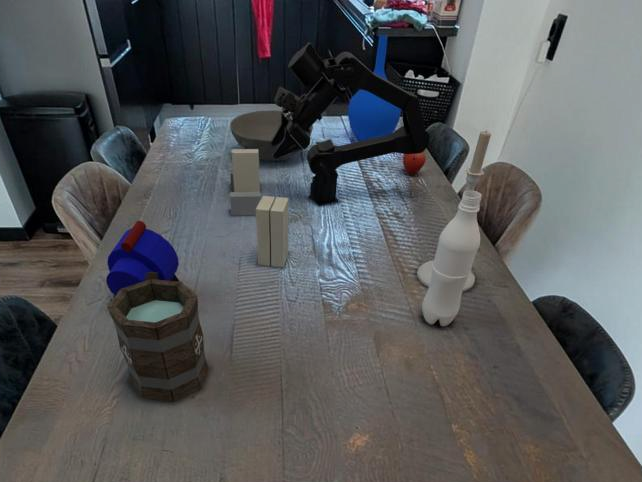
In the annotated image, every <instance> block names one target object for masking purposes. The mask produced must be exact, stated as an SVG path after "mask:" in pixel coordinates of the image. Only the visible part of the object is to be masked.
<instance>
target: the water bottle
mask: <svg viewBox="0 0 642 482" xmlns="http://www.w3.org/2000/svg"><path fill="white" fill-rule="evenodd" d="M482 195H483V194H482V193H480V192H479V191H475V190H474V191H465V192H464V191H463V193H462V197H461V200H462V201H461V200H460V202H459V204H458V206H457V208H458V209H459V210H458V209H457V212H456V214H455V215H454V216H453V218H452V219H451V220H450V221H449V222H448V224H447V225H445V227H444V228H443V229H442V231H441V232H440V235H439V237H438V241H437V242H438V243H437V247H436V251H435V255H434V259H433V260H434V263H433V265H432V276H431V281H430V285H429V287H427V291H426V293H425V296H424V298H423V299H422V304H421V313H422V316H423V318H424V320H425V322H426V323H428V324H429V325H434V324H435V323H436V322H437V321H439V326H441V327H446V326H449V325H450V324H451V323H452V322H453V320H454V319H455V318H456V316H457V315H458V313H459V311H460V307H461V299H462V294H463V292H464V291H463V288H464V285H465V282H466V280H467V278H468V276H469V274H470V273H471V272H472V269H473V265H474V262H475V259H476V256H477V253H478V250H479V248H480V244H481V233H480V228H479V223H478V212H480V209H481V208H480V206H481V201H482V197H483V196H482ZM462 291H463V292H462Z"/></svg>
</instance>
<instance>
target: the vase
mask: <svg viewBox="0 0 642 482" xmlns="http://www.w3.org/2000/svg"><path fill="white" fill-rule="evenodd" d="M388 37H389V36H388V35H386V34H380V35H379V37H378V44H377V50H376V57H375V66H374V70H373V71H372V72H373V73H375V74H376V75H378V76H380V77H382V78H384V79H385V80H387V81H389V80H388V78H387V76H386V73H385V63H386V55H387V45H388ZM347 108H348V109H347V118H348V122H349V128H350V130H351V132H352V134H353V136H354V137H355V139H356V140H357V142H358V141H363V140H367V139H371V138H376V137H380V136H384V135H388V134H391V133H393V132H395V131H396V128H397V126H398V124H399V122H400V119H401V115H402V109H400V108H398V107H396V106H394V105H392V104H390V103H389V102H387V101H385V100H383V99H381V98H379V97H377V96H376V95H374V94H372V93H370V92H368V91H365V90H360V89H358V91H357V92H356V93H355V94H354V95H353V96H352V97H351V98H350V101H349V103H348V107H347Z"/></svg>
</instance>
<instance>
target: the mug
mask: <svg viewBox="0 0 642 482" xmlns="http://www.w3.org/2000/svg"><path fill="white" fill-rule="evenodd" d="M198 302H199V298H198V295H197V294H195V292H194V291H193V290H191V288H189V287H188V286H187V285H186V284H184V282H183V281H180V282H178V281H167V280H159V276H158V273H157V272H148V273H146V275H145V281H143V282H140V283H137V284H134V285H131V286H128V287H125V288H122V289H120V290H119V292H118V293H117V295H116V296H115V297H114V296H113V299H112V300H111V301H110V303H109V304H108V306H107V311H108V313H109V315H110V317H111V319H112V321H113V324H114V328H115V330H116V334H117V339H118V345H119V348H120V351H121V353H122V355H123V358H124V360H125V363H126V366H127V369H128V373H129V380H130V383H131V384H132V385H133V387H134V388H135V389H136V391H137V392H138V393H139V394H140V396H141V397H142V398H143V399H148V400H156V401H157V400H158V401H166V402H176V401H178V400H180V399H183V398H184V397H187V396H189V395H191V394H194V393H195V392H197V391H199V390H201V389H202V387H203V385H204V382H205V379H206V377H207V375H208V372H209V370H210V369H209V366H208V363H207V359H206V354H205V353H206V352H205V345H204V343H205V342H204V333H203V330H202V325H201V321H200V316H199V303H198Z"/></svg>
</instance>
